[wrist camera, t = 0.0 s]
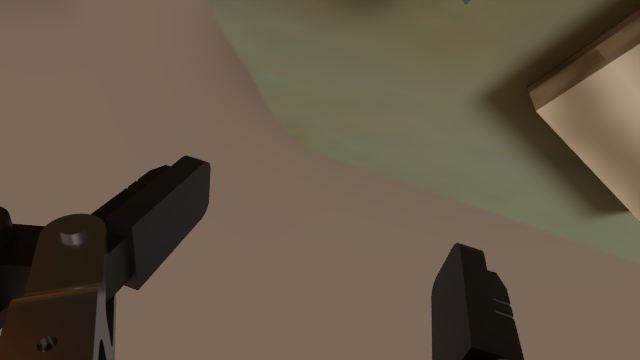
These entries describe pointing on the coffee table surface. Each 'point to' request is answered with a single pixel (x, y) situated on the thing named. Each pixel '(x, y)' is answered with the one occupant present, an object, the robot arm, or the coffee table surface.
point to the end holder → (600, 107)
